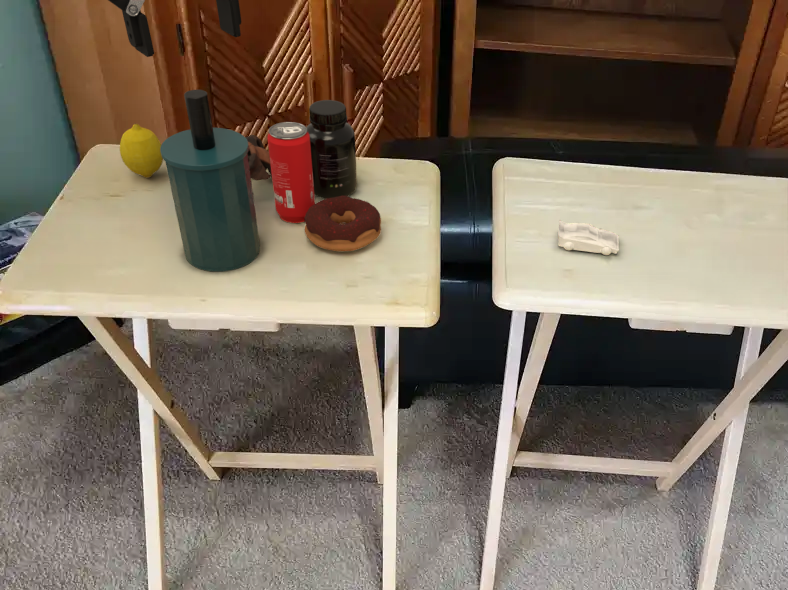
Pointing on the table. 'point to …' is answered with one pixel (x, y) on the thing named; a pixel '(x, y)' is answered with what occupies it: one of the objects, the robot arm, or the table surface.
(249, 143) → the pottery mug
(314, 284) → the table surface
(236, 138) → the lid
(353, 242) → the donut
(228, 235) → the pot
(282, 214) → the beverage can
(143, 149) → the fruit
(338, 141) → the supplement bottle
